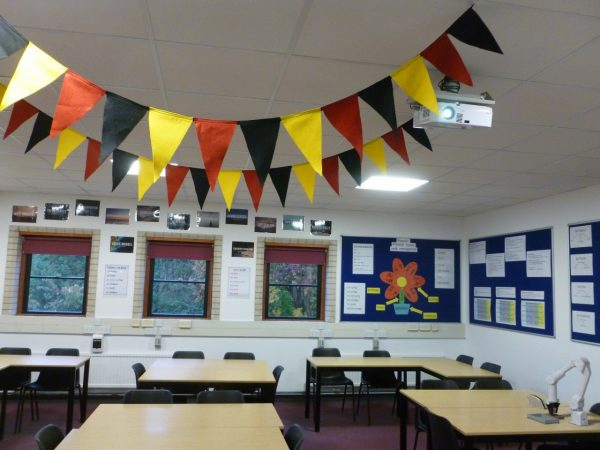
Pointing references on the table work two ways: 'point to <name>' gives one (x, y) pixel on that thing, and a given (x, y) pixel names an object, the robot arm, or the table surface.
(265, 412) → the table surface
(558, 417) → the holder
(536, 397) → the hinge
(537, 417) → the tray
